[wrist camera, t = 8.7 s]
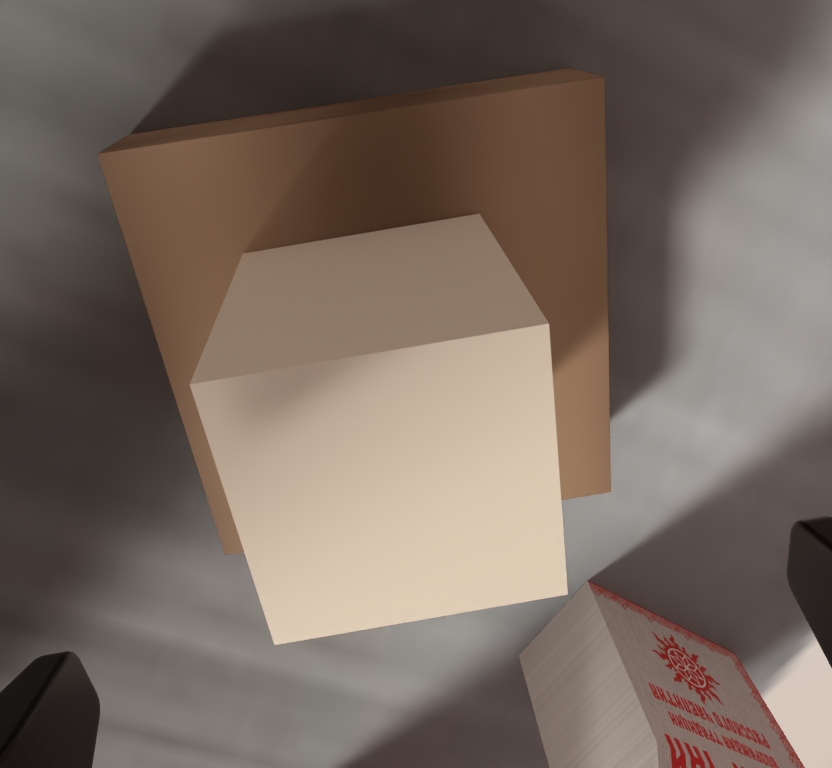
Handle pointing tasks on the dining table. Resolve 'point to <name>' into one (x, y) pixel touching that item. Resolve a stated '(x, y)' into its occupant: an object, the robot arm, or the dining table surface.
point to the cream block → (385, 429)
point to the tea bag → (643, 693)
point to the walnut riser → (384, 221)
